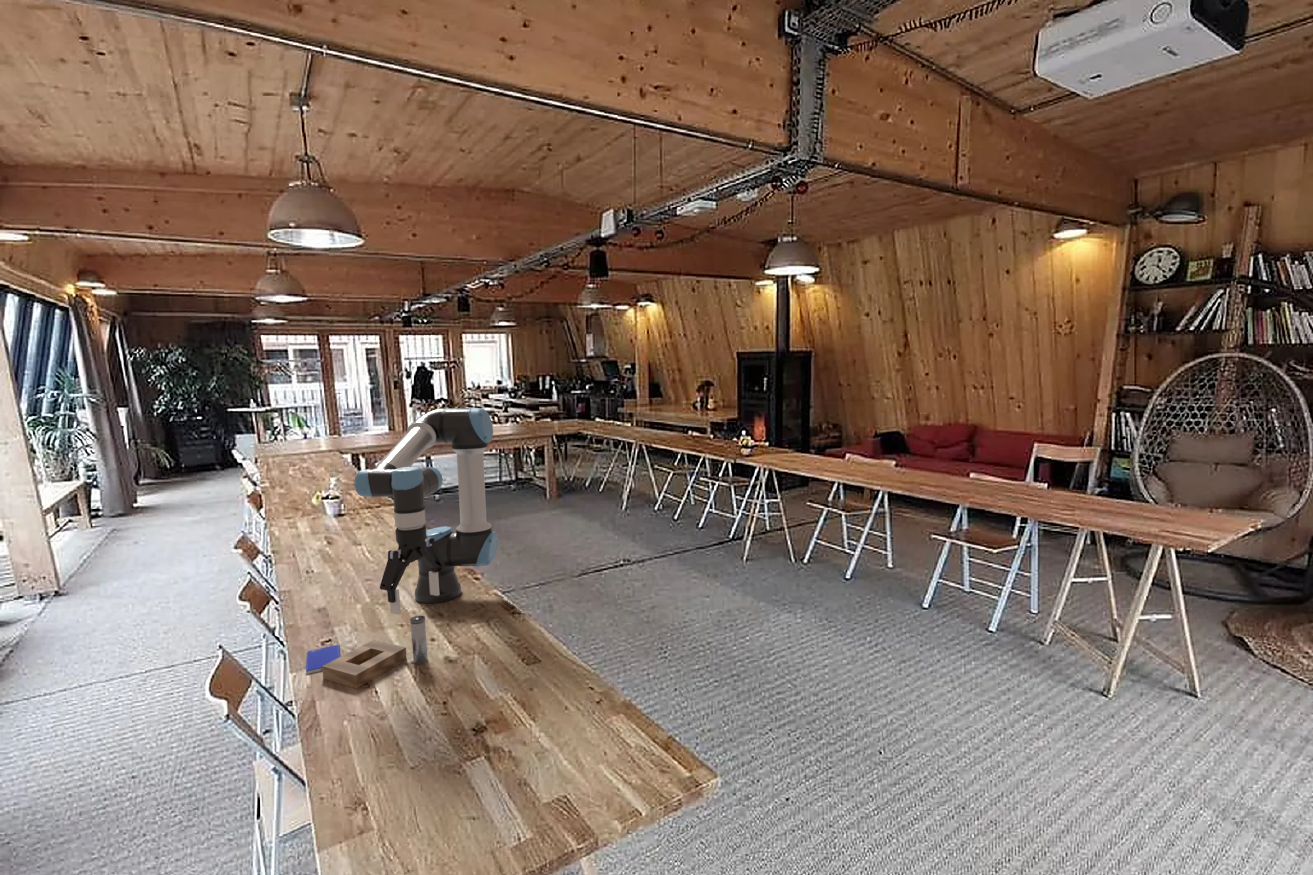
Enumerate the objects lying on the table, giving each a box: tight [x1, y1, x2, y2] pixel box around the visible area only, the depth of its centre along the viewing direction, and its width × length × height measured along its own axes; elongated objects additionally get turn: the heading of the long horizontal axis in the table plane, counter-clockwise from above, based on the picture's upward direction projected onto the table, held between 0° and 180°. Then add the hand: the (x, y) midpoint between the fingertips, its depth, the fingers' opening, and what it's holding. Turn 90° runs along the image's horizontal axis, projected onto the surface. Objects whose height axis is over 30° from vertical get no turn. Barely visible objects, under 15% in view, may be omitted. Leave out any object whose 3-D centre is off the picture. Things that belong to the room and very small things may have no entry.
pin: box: [409, 615, 429, 665], centre depth 165 cm, size 4×4×12 cm
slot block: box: [322, 639, 408, 689], centre depth 162 cm, size 16×12×4 cm
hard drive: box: [305, 644, 341, 675], centre depth 167 cm, size 2×8×12 cm
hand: (416, 603), depth 164 cm, fingers open, 13 cm apart
